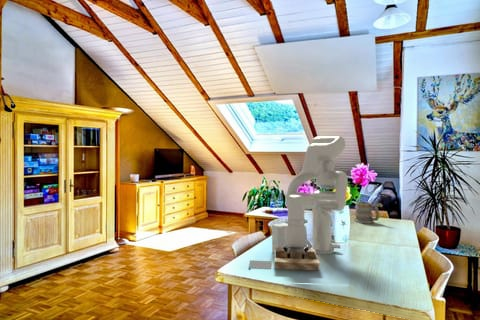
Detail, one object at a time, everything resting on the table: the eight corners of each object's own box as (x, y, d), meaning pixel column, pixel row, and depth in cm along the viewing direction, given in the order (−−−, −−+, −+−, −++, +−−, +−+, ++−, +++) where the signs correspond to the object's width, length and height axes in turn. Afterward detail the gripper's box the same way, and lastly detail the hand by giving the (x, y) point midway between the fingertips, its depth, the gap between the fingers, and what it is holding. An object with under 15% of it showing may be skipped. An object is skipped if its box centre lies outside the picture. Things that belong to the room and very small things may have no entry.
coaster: (271, 262, 155) (271, 261, 155) (271, 270, 145) (271, 268, 145) (250, 261, 156) (250, 260, 156) (248, 269, 146) (248, 267, 146)
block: (300, 261, 154) (300, 245, 154) (301, 267, 147) (301, 249, 147) (289, 261, 155) (289, 244, 154) (290, 266, 148) (290, 249, 147)
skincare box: (285, 250, 174) (285, 222, 173) (291, 253, 168) (291, 224, 168) (271, 252, 170) (271, 223, 170) (277, 255, 165) (277, 226, 164)
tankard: (351, 221, 245) (351, 201, 245) (359, 218, 254) (359, 199, 253) (377, 226, 230) (378, 204, 230) (385, 223, 239) (386, 202, 239)
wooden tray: (314, 259, 160) (314, 248, 160) (319, 274, 140) (320, 263, 140) (274, 257, 162) (274, 247, 162) (274, 272, 142) (274, 261, 142)
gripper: (313, 220, 153) (313, 259, 154) (277, 220, 155) (276, 258, 155) (316, 224, 146) (315, 265, 146) (277, 223, 147) (277, 263, 148)
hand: (295, 261), depth 151 cm, fingers closed on block, 5 cm apart
